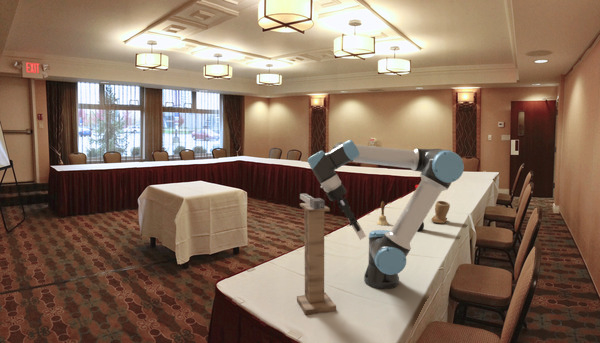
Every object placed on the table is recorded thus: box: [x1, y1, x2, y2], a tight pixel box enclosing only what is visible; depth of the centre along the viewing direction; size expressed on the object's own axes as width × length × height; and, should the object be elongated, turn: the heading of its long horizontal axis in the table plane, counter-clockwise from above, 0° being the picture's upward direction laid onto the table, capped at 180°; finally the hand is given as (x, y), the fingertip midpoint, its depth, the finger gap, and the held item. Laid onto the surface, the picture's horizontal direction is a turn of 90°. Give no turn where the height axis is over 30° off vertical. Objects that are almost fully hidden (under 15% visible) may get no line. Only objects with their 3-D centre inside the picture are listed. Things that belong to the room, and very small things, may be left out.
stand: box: [296, 202, 337, 316], centre depth 145 cm, size 14×12×39 cm
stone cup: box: [431, 200, 451, 224], centre depth 270 cm, size 15×12×15 cm
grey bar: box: [299, 193, 326, 209], centre depth 148 cm, size 21×4×3 cm, turn 16°
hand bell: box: [376, 200, 390, 226], centre depth 265 cm, size 8×8×16 cm
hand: (360, 234), depth 151 cm, fingers open, 13 cm apart
